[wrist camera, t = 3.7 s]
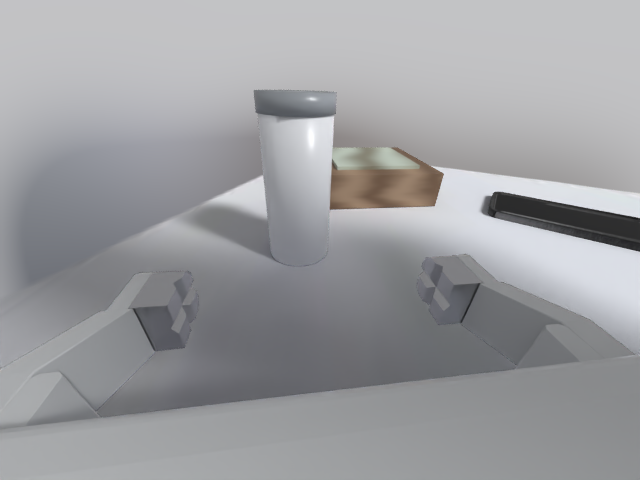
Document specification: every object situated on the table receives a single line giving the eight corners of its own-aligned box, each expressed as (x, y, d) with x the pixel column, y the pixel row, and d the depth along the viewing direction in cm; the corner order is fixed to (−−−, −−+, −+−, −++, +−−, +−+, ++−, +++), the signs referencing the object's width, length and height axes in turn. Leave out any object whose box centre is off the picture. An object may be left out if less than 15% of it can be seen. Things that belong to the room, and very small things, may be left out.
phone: (688, 254, 22) (489, 209, 29) (678, 264, 22) (485, 218, 29) (653, 220, 27) (494, 189, 34) (646, 229, 28) (490, 197, 35)
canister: (324, 232, 25) (329, 91, 19) (333, 265, 20) (344, 93, 14) (270, 235, 24) (257, 89, 18) (268, 268, 20) (249, 91, 14)
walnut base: (392, 172, 43) (397, 144, 41) (434, 205, 31) (444, 170, 29) (310, 173, 41) (310, 145, 39) (321, 209, 29) (322, 171, 27)
